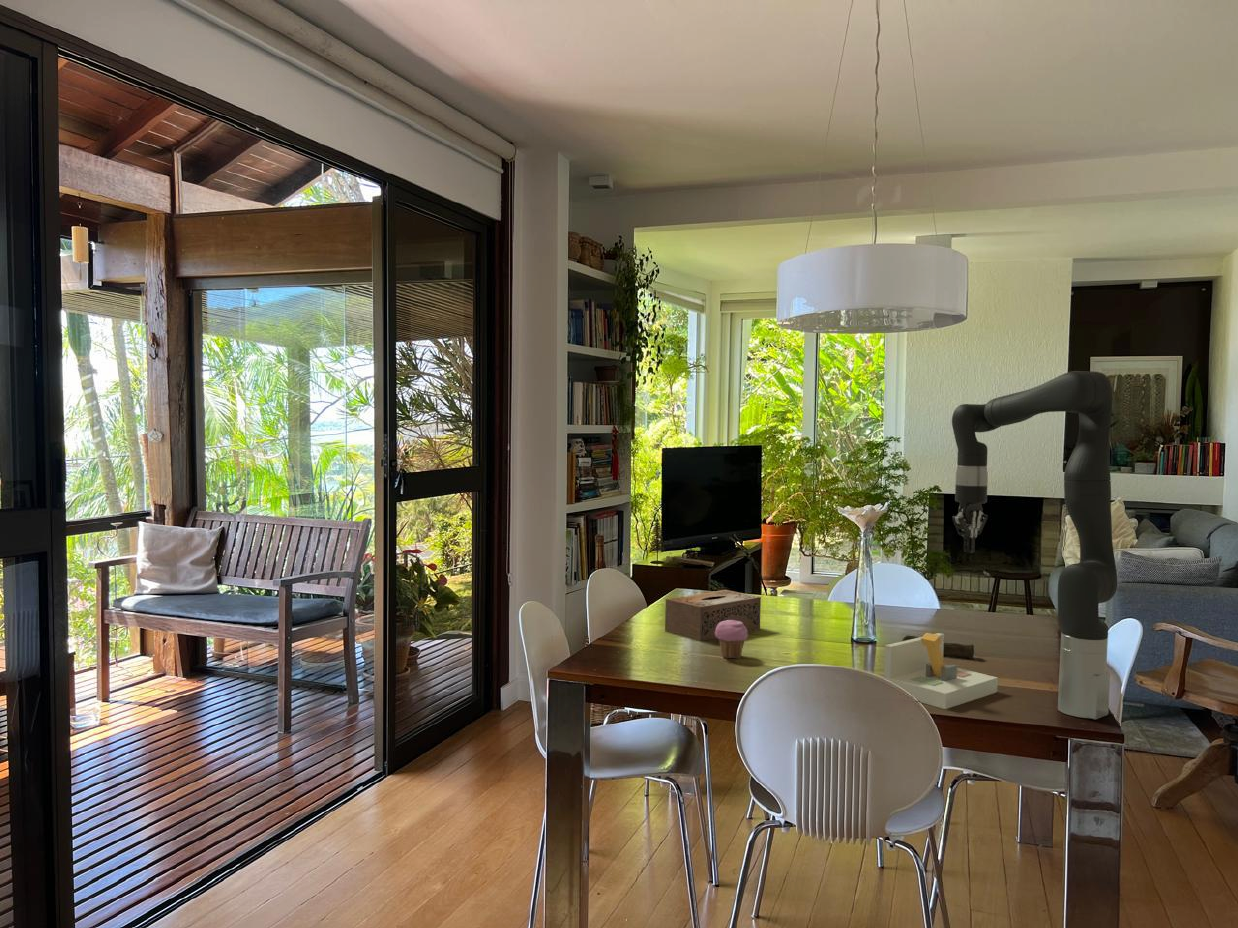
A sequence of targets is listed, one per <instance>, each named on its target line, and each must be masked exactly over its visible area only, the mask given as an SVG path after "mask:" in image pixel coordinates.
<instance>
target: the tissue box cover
mask: <svg viewBox="0 0 1238 928" xmlns="http://www.w3.org/2000/svg"><path fill="white" fill-rule="evenodd" d="M761 599H762V597H761V596H758V595H757V596H756V595H752V594H748V593H743V592H738V591H734V590H728V589H722V590H717V591H716V590H715V591H709V592H702V593H695V594H689V595H682V596H675V597H670V598H665V618H664V619H665V620H664V632H666V633H669V634H672V635H673V634H674V635H676V636H680V637H684V638H686V639H691V640H695V641H698V642H702V641H708V640H712V639H716V638H717V637H716V636H715V630H716V627H717V625H718V624H719V623H720V622H722V621H726V620H735V621H740V622H742V623H743V625H744V626H745V627H746V629H747V631H748V632H752V631H753V632H754V631H757V630H761V606H762V605H761V604H762V603H761V602H762V600H761ZM717 639H718V638H717Z"/></svg>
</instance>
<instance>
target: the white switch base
mask: <svg viewBox="0 0 1238 928" xmlns="http://www.w3.org/2000/svg"><path fill="white" fill-rule="evenodd" d="M934 634H935V635H940V637H941V641H942V643H941V644H940V645H939V646H940V650H941V654H942V657H943V658H944V655H943V650H944V643H945V634H944V633H940V632H938V633H934ZM918 637H919V638H915V639H910V640H906V641H902V640H901V641H898V642H894V643H890V644H885V646H884V650H885V651H884V670H883V671H884V675H883V679H884V678H886V679H887V680H889V681H891V682H893V683H895V684H897V685H899V686H901V687H902V688H904V689H905V690H906V691H908V692H909V693H911V694H912V695H913V696H914V697H915V698H916V699H918V700H919V701H920V702H919V703H922V704H925V705H926V704H927V705H929V706H933V707H936V708H940V709H943V710H947V709H950V708H953V707H956V706H959V705H962V704H965V703H969V702H972V701H974V700H977V699H981V698H984V697H987V696H990V695H993V694H995V693H998V680H999V679H998V678H999V677H996V676H993V675H989V674H985V673H980V672H977V671H974V670H973V671H972V670H969V669H964V668H960V667H958V665H957V664H950V665H949V664H944V665H945V667H942V668H941V676H937V675H934V673H933V669H932V666H931V662H930V658H929V654H928V651H927V647H926V646H923V644H922V641H921V638H922V637H923V636H918Z"/></svg>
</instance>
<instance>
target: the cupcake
mask: <svg viewBox="0 0 1238 928" xmlns="http://www.w3.org/2000/svg"><path fill="white" fill-rule="evenodd" d="M748 632H749V631H747V629H746V627H745V626H744V625H743V623H742V622H740V621H735V620H726V621H722V622H720V623H719V624H718V625H717V627H716V630H715V636H716V637H717V639H718V642H719V648H720V653H721V655H722V657H723V658H726V659H740V658H741V657H742V652H743V647H744V644H745V641H746V640H747V638H748V637H749V633H748Z"/></svg>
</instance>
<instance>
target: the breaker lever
mask: <svg viewBox="0 0 1238 928" xmlns="http://www.w3.org/2000/svg"><path fill="white" fill-rule="evenodd" d="M935 634H936V633H930V632H925V633H924V634H923V635H922V636H921V637H922V638H921V641H922V644H923V646H926V647H927V651H928V654H929V658H930V662H931V666H932V669H933V673H934V675H937V676H941V668H942V667H945V665H946V664H945V662H944V656H943V657H942V654H941V650H940V646H939V645H940V644H941V643H942V641H941V637H940V635H935Z"/></svg>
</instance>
